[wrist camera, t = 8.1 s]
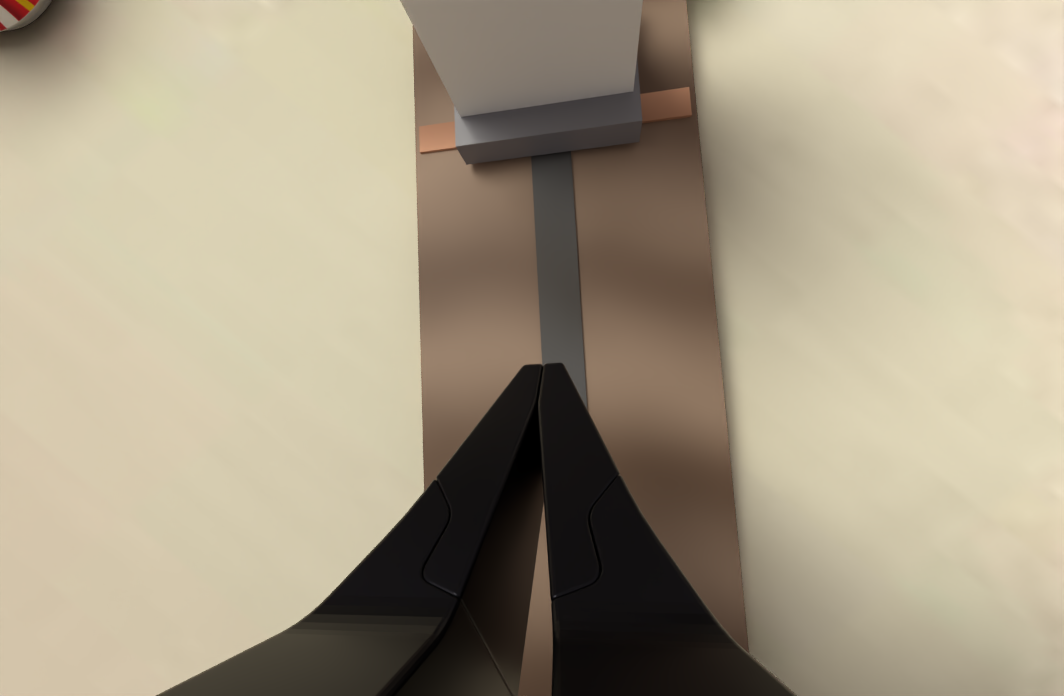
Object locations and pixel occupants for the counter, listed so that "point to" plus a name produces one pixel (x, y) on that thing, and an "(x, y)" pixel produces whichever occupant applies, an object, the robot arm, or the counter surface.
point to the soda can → (20, 12)
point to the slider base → (587, 311)
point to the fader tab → (535, 73)
